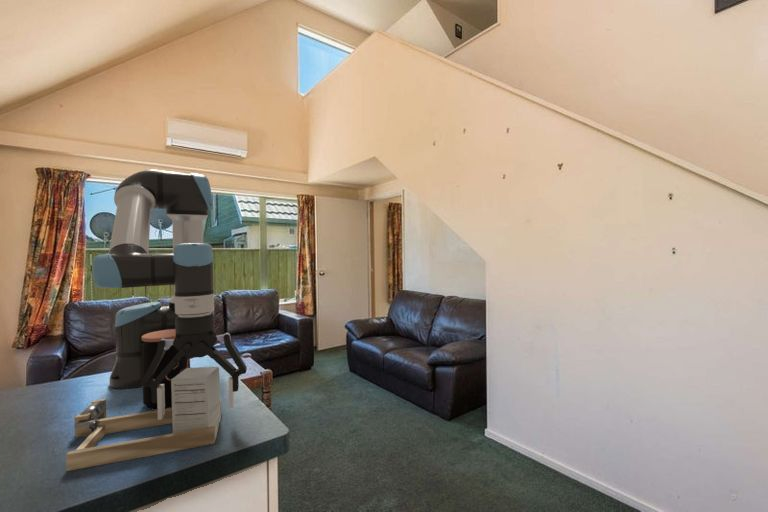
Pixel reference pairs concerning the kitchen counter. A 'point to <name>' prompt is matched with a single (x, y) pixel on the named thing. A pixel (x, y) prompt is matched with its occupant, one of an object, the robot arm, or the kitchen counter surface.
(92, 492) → the kitchen counter surface
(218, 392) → the supplement box
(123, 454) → the bay
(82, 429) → the winch
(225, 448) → the kitchen counter surface
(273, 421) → the kitchen counter surface
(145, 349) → the coffee jar
